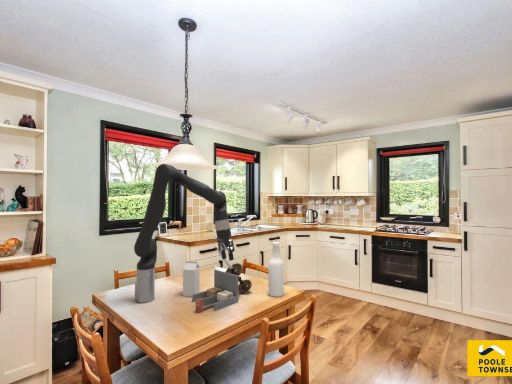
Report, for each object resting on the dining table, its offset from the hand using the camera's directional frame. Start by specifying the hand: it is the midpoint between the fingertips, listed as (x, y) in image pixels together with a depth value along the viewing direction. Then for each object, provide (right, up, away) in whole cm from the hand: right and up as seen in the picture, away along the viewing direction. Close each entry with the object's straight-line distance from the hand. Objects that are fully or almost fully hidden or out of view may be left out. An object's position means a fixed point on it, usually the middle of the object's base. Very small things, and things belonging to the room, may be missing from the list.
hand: (227, 259), depth 145 cm
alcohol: (+26, -24, +16) cm, 39 cm away
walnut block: (-9, -24, +10) cm, 27 cm away
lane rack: (-7, -24, +4) cm, 25 cm away
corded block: (-7, -24, -2) cm, 25 cm away
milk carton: (-23, -24, +16) cm, 37 cm away
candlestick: (+8, -21, +20) cm, 30 cm away
